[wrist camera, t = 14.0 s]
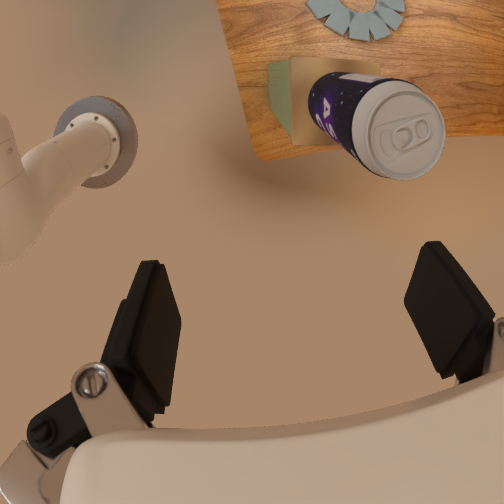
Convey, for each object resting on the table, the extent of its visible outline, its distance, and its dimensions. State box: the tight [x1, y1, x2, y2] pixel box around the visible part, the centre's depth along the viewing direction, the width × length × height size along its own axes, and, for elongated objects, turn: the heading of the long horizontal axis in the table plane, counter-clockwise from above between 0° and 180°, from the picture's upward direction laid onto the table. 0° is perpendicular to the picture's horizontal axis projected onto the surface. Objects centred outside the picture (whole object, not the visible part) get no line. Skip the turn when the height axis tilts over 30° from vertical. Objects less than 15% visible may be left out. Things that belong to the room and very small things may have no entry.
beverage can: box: [308, 72, 445, 181], centre depth 17 cm, size 6×6×12 cm
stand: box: [267, 56, 380, 146], centre depth 32 cm, size 8×8×24 cm
